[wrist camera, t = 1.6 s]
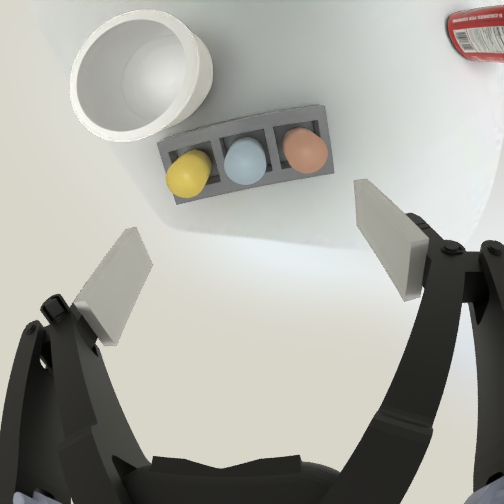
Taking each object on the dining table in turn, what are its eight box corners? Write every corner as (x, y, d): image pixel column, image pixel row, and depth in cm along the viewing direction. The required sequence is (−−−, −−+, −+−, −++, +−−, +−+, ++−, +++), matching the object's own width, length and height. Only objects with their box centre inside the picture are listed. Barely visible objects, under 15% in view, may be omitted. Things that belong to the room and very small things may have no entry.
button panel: (164, 138, 32) (156, 142, 29) (318, 104, 30) (324, 105, 27) (182, 196, 36) (176, 204, 33) (328, 166, 34) (334, 173, 31)
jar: (191, 24, 24) (149, -16, 11) (239, 87, 29) (229, 82, 16) (122, 77, 27) (48, 79, 15) (167, 137, 32) (114, 171, 19)
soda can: (438, 37, 23) (515, 32, 10) (450, 3, 19) (519, -10, 6) (474, 70, 24) (549, 82, 11) (485, 36, 20) (554, 39, 8)
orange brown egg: (278, 130, 29) (282, 136, 25) (313, 124, 28) (324, 130, 24) (284, 164, 31) (290, 176, 27) (319, 158, 31) (330, 169, 26)
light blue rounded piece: (224, 141, 30) (219, 150, 25) (260, 133, 29) (261, 140, 25) (232, 174, 32) (229, 188, 27) (267, 167, 31) (269, 180, 27)
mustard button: (173, 154, 30) (160, 165, 26) (207, 145, 30) (199, 155, 26) (183, 186, 32) (172, 201, 28) (216, 178, 32) (209, 193, 28)
